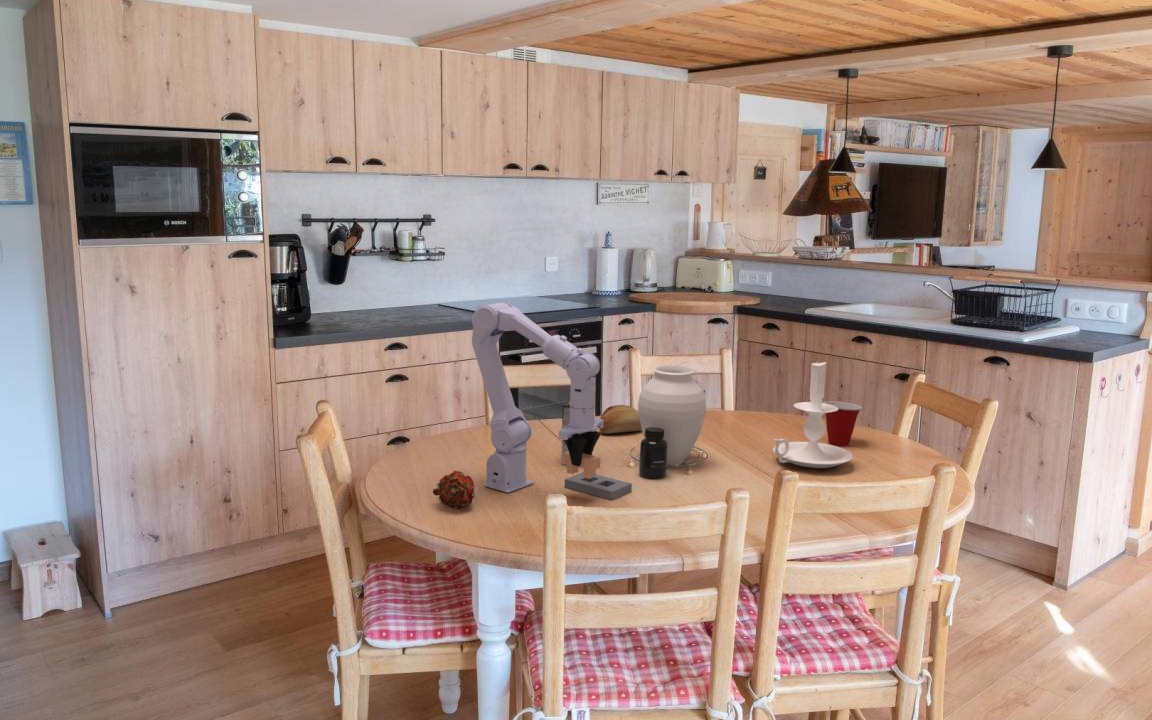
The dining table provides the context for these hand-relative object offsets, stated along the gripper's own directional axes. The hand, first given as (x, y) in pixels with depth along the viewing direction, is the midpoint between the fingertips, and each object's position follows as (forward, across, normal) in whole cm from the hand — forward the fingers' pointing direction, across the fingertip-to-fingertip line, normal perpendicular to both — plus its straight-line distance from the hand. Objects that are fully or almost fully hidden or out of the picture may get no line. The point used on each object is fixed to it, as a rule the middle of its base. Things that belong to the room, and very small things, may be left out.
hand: (580, 463), depth 205 cm
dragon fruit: (+8, -23, +18) cm, 30 cm away
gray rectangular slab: (+8, +7, 0) cm, 11 cm away
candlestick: (+8, +60, -30) cm, 68 cm away
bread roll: (+8, +54, +26) cm, 60 cm away
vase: (+8, +38, -1) cm, 39 cm away
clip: (+3, 0, 0) cm, 3 cm away
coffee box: (+8, +22, +18) cm, 30 cm away
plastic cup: (+8, +86, -29) cm, 91 cm away
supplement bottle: (+8, +25, -4) cm, 27 cm away
